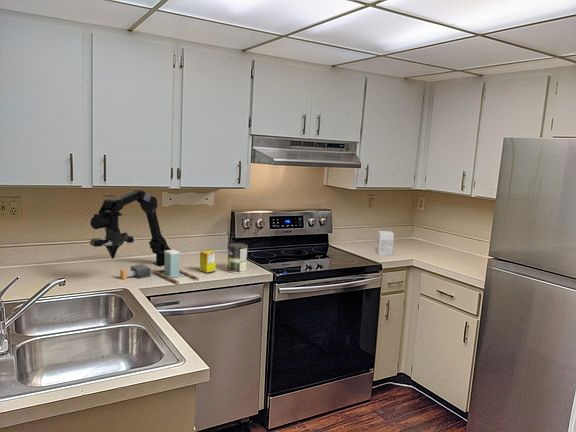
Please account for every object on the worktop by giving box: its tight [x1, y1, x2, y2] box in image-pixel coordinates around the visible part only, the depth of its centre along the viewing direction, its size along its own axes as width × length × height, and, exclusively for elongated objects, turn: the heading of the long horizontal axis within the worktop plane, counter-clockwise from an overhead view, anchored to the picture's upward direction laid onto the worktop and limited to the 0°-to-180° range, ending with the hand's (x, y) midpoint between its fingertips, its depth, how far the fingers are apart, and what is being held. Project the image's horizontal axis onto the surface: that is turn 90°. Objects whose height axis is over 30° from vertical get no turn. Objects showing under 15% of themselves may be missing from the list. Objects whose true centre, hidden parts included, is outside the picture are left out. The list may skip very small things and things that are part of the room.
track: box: [153, 269, 199, 285], centre depth 232 cm, size 22×12×1 cm, turn 43°
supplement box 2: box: [376, 230, 395, 257], centre depth 301 cm, size 9×9×15 cm
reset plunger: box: [119, 268, 136, 280], centre depth 227 cm, size 4×7×4 cm, turn 133°
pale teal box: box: [164, 249, 181, 276], centre depth 234 cm, size 6×5×12 cm
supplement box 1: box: [199, 249, 217, 275], centre depth 243 cm, size 6×6×11 cm
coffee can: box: [227, 242, 248, 274], centre depth 247 cm, size 10×10×14 cm
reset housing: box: [130, 264, 151, 279], centre depth 231 cm, size 9×6×4 cm, turn 43°
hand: (112, 258), depth 220 cm, fingers closed
